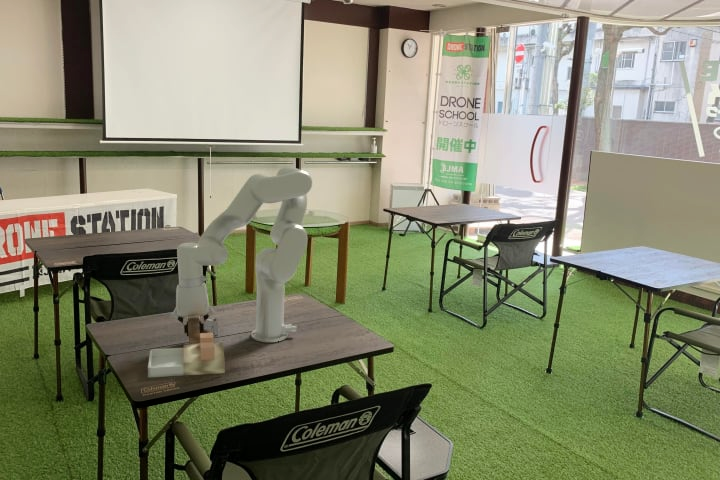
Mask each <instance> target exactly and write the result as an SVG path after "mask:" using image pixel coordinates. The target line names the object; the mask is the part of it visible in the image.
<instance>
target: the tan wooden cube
mask: <svg viewBox="0 0 720 480" xmlns="http://www.w3.org/2000/svg"><path fill="white" fill-rule="evenodd" d="M214 343H215V342H214V341H213V342H211V343H201V361H202V360H215V346H214Z"/></svg>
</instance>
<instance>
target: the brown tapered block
mask: <svg viewBox="0 0 720 480" xmlns="http://www.w3.org/2000/svg"><path fill="white" fill-rule="evenodd" d="M199 318H200V317H199V315H195V316H187V321H188V333H189V336H188V345H190V344H200V327H199Z"/></svg>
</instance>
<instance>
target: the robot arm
mask: <svg viewBox="0 0 720 480" xmlns="http://www.w3.org/2000/svg"><path fill="white" fill-rule="evenodd" d="M312 186H313V179H312V177H311V175H310V174H309V173H308V172H307V171H305V170H302V169H300V168H296V167H293V166H283V167H281V168H280V169H279V170H278V171H277V173H276V175H275V176H268V175H265V174H260V173H255V174H253V175H251V176H250V177H249V178H248V179H247V180H246V182H245V183H244V184H243V186H242V187H241V189H240V190H239V191H238V192H237V194H236V196H235V197H234V198H233V200H232V201H231V202H230V204H229V205H228V207H227V208H226V209H225V210H224V211H223V212H222V213H220V214H219V215H218V216H217V217H216V218H215V219H214V220H212V221H211V222H210V223H209V225H208V226H207V227H206V229H205V230H204V231H203V233H202V234H201V236H200V237H199V239H198V241H197V242H183V243H180V244H179V245H178V246H177V248H176V256H177V268H178V269H177V270H178V273H177V274H178V283H177V286H176V291H175V293H176V294H175V298H176V299H175V302H176V303H175V305H176V306H175V308H174V310H173V311H172V313H171V317H172V318H173V319H175V320H178V322H180V323H182V325H183V331H184V332H183V333H184V334H186V337H189V333H188V316H195V315H199V318H200V321H199V327H200V333H205V327H204V326H205V324H204V322H205V321H206V320H207V319H210V317H212V316H213V315H214V314H215V310H214V309H213V308H212V306H211V304H210V303H209V294H208V288H207V287H208V286H207V285H206V283H205V282H206V281H208V280H209V279H208V276H205V275H204V274H203V273H204V272H203V266H213V267H214V266H219V265H222V264H224V263H225V262H226V261H227V259H228V257H229V252H228V249H227V247H226V246H225V245H224V244H223V243H224V241H225V240H226V238H227V237H228V236H230V234H231V233H232V232H234V231H235V230H237V229H240V228H242V227H245V226H247V225H249V224H250V223H251V221H252V220H253V218H254V217H255V215H256V214H257V212H258V211H259V210H260V208H261V207H262V205H263V204H275V203H280V202H281V204H280V208H279V211H278V213H277V216H276V217H275V220H274V222H273V225H272V228H271V230H270V233H269V235H270V236H269V237H270V240H271V241H272V243H274V244H275V245H276V246H277V247H276V248H274V247H266V248H263V249H261V250H260V251H259V252H258V254H257V255H256V258H255V264H254V265H255V266H254V267H255V273H256V276H255V277H256V308H255V309H256V312H255V313H256V314H255V317H256V318H255V320H256V321H255V329H253V330H252V331H251V335H250V336H251V338H252V339H253V340H255V341H257V342H262V343H278V341H279V342H282V341H285V340H287V338H288V332H298V331H297V329H298V327H297V325H293V324H290V323H289V324H285V322H284V320H285V319H284V315H285V313H284V312H285V294H286V293H285V292H286V291H285V283H287V282H288V281H290V280H291V279H292V278H293V277H294V275H295V274H296V272H297V270H298V267H299V265H300V263H301V260H302V258H303V255H304V253H305V250H306V248H307V245H308V233H307V231H306V229H305V228H304V226H302V222H303V220H304V217H305V214H306V210H307V206H308V197H307V194H308V193H309V192H310V191H311V190H312Z"/></svg>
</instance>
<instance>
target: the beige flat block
mask: <svg viewBox="0 0 720 480" xmlns="http://www.w3.org/2000/svg"><path fill="white" fill-rule="evenodd" d="M214 346H215V360H202V361H201V350H200V343H195V344H184V345H183V348H184V361H183V365H184V375H183V376H194V375H195V376H196V375H199V376H200V375H213V374H225V373H226V369H225V368H226V360H225V354H224V345H223V342H216V343H215V342H214Z"/></svg>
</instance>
